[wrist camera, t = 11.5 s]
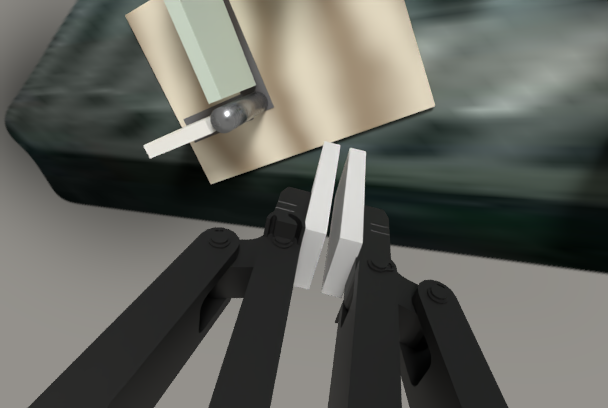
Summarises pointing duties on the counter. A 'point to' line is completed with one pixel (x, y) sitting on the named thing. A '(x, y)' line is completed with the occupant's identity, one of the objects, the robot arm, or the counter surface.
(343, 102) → the board
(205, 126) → the fixed panel
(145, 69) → the counter surface
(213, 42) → the hinged panel
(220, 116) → the post
